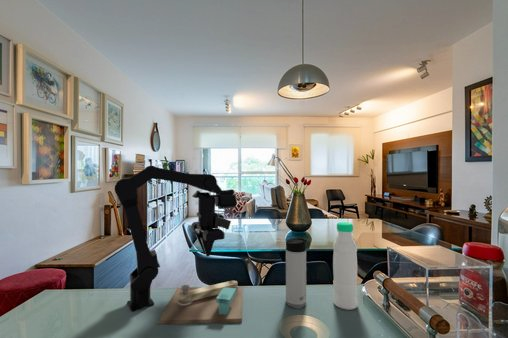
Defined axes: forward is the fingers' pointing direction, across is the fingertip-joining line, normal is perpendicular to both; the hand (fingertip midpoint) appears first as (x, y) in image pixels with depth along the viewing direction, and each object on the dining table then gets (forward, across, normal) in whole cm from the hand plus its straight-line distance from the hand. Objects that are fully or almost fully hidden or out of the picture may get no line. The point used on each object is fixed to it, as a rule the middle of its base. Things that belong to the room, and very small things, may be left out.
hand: (206, 254), depth 88 cm
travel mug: (+12, -22, -22) cm, 33 cm away
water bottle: (+12, -30, -34) cm, 47 cm away
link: (+11, -7, +1) cm, 13 cm away
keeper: (+11, -12, +5) cm, 17 cm away
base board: (+12, -10, +3) cm, 16 cm away
